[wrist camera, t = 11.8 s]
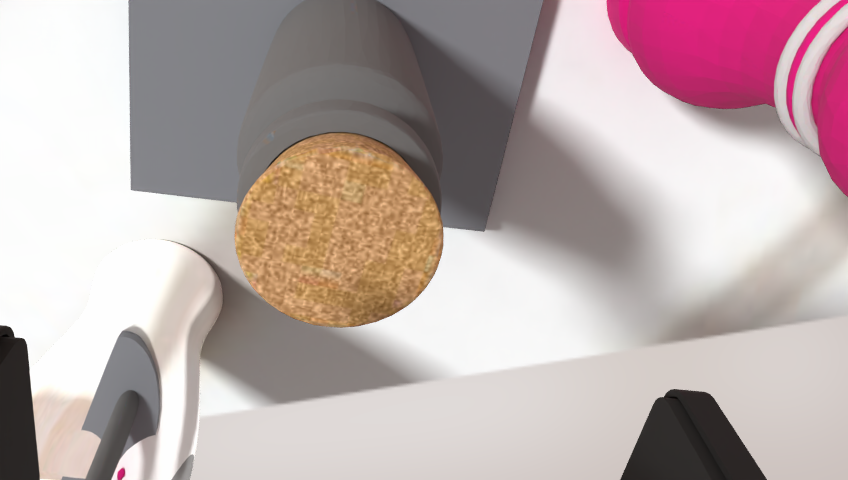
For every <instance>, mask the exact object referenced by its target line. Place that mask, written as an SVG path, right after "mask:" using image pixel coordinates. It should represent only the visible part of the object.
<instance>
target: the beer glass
mask: <svg viewBox="0 0 848 480" xmlns="http://www.w3.org/2000/svg"><path fill="white" fill-rule="evenodd" d="M222 303H223V292H222V286H221V283H220V280H219V278H218V276H217V274H216V272H215V271H214V269H213V268H212V266H211V265H210V264H209V263H208V262H207V261H206V260H205V259H204V258H203V257H202V256H200V255H199V254H198V253H196V252H195V251H193V250H191V249H189V248H188V247H185V246H183V245H181V244H178V243H175V242H171V241H166V240H159V239H144V240H137V241H133V242H129V243H127V244H124V245H122V246H120V247H118V248H116V249H115V250H113V251H112V252H111V253H110V254H108V255H107V256H106V257H105V258H104V259H103V261H102V262H101V263H100V265H99V266H98V268H97V270H96V272H95V275H94V278H93V282H92V287H91V292H90V297H89V301H88V304H87V306H86V309H85V311H84V312H83V314H82V315H81V317H80V318H79V319H78V320H77V321H76V322H75V323H74V324H73V326H72V327H71V328H70V329H69V330H68V331H67V332H66V333H65V334H64V335H63V336H62V337H61V338H60V339H59V340H58V341H57V342H56V343H55V344H54V345H53V346H52V347H51V348H50V349H49V350H48V351H47V352H46V353H45V354H44V355H43V356H42V357H41V359H40V360H39V361H38V362H37V363H36V364H35V365H34V366H33V367H32V368H31V370H30V381H31V391H32V401H33V411H34V421H35V431H36V441H37V451H38V462H39V472H40V480H190V476H191V472H192V468H193V463H194V458H195V453H196V447H197V442H198V430H199V417H200V354H201V349H202V345H203V343H204V340H205V338H206V336H207V335H208V333H209V331H210V330H211V328H212V327H213V325H214V323H215V322H216V320H217V318H218V316H219V314H220V311H221V308H222Z"/></svg>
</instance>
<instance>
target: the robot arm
mask: <svg viewBox="0 0 848 480" xmlns="http://www.w3.org/2000/svg"><path fill="white" fill-rule="evenodd" d="M0 480H40V472H39V462H38V451H37V441H36V431H35V421H34V411H33V401H32V391H31V381H30V370H29V360H28V350H27V344H26V341H25V340H24V339H23V338H15V337H14V333H13V331H12V329H11V328H10V327H8V326H1V325H0ZM621 480H767V479H766V477H765V476H764V474H763V473H762V471H761V470H760V468H759V467H758V465H757V464H756V462H755V461H754V459H753V458H752V456H751V455H750V453H749V451H748V450H747V448H746V447H745V445H744V444H743V442H742V441H741V439H740V438H739V436H738V435H737V433H736V432H735V430H734V428H733V427H732V425H731V424H730V422H729V421H728V419H727V418H726V416H725V415H724V413H723V412H722V410H721V409H720V407H719V405H718V404H717V402H716V401H715V399H714V398H713V397H712V396H711V395H710V394H708V393H706V392H699V391H688V390H677V389H673V390H670V391H668V392H667V393H666V395H665V396H664V397H660V398H658V399H657V400H656V401H655V403H654V404H653V406H652V409H651V411H650V413H649V416H648V418H647V420H646V422H645V425H644V427H643V429H642V432H641V434H640V436H639V438H638V441H637V443H636V445H635V448H634V450H633V452H632V455H631V457H630V459H629V461H628V463H627V466H626V468H625V470H624V473H623V475H622V477H621Z"/></svg>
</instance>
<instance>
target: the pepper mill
mask: <svg viewBox="0 0 848 480" xmlns="http://www.w3.org/2000/svg"><path fill="white" fill-rule="evenodd" d="M607 11H608V17H609V20H610V23H611V26H612V29H613V31H614V33H615V35H616V37H617V38H618V40H619V41H620V42H621V43H622V44H623V46H624V47H625V48H626V49H627V50H629V51H630V52H631V53H633V56H634V58H635V60H636V62H637V63H638V65H639V67H640V69H641V71H642V72H643V73H644V74H645V76H646V77H647V78H648V79H649V80H650V81H651V82H652V83H653V84H654V85H655V86H657V87H658V88H659V89H661V90H662V91H664V92H665V93H667V94H669V95H671V96H673V97H675V98H677V99H679V100H681V101H683V102H686V103H689V104H692V105H695V106H702V107H709V108H719V109H737V108H744V107H750V106H755V105H761V104H768V105H770V106H773V107H775V108H776V111H777V114H778V116H779V119H780V121H781V123H782V125H783V126H784V128H785V129H786V131H787V132H788V133H789V134H790V135H791V136H792V137H793V138H794V139H795V140H796V141H798V142H799V143H801V144H802V145H803V146H805V147H807V148H810V149H811V150H812V151H813V152H814V153H816V154H818V155H819V156H821V158H822V160H823V162H824V164H825V166H826V168H827V170H828V172H829V175H830V177H831V179H832V180H833V181H834V183H835V184H836V185H837V186H838V187H839V189H840V190H841V191H842V192H843V193H844V194H845V195H846V196H847V197H848V0H607Z"/></svg>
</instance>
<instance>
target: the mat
mask: <svg viewBox="0 0 848 480" xmlns="http://www.w3.org/2000/svg"><path fill="white" fill-rule="evenodd" d="M303 1H305V0H129V76H130V159H131V190H134V191H143V192H151V193H160V194H168V195H177V196H185V197H194V198H202V199H211V200H219V201H228V202H236V203H237V188H238V182H239V172H238V166H237V146H238V138H239V134H240V130H241V126H242V123H243V120H244V117H245V114H246V111H247V108H248V105H249V102H250V99H251V97H252V94H253V91H254V88H255V86H256V83H257V80H258V77H259V75H260V72H261V69H262V67H263V64H264V61H265V59H266V56H267V53H268V51H269V48H270V45H271V43H272V41H273V39H274V36H275V34H276V32H277V30H278V28H279V26H280V24H281V23H282V21H283V20H284V18H285V17H286V16H287V15H288V14H289V13H290V11H291V10H293V9H294V8H295V7H296V6H297V5H299V4H300V3H302V2H303ZM376 1H378V2H380V3H381V4H382V5H384V6H385V7H386V8H388V9H389V10H390V11H391V12H392V13H393V14H394V15H395V16H396V17H397V19H398V20H399V21H400V22H401V24H402V26H403V27H404V29H405V31H406V33H407V35H408V37H409V39H410V41H411V44H412V47H413V50H414V53H415V56H416V59H417V62H418V65H419V68H420V71H421V74H422V77H423V80H424V83H425V87H426V90H427V93H428V96H429V99H430V103H431V106H432V109H433V112H434V115H435V119H436V122H437V126H438V129H439V133H440V138H441V144H442V150H443V168H442V173H441V178H440V186H441V194H442V206H441V215H440V216H441V219H442V223H443V227H449V228H458V229H466V230H475V231H483V232H484V231H485V227H486V223H487V219H488V215H489V211H490V207H491V203H492V199H493V196H494V192H495V188H496V184H497V180H498V176H499V172H500V168H501V164H502V160H503V156H504V152H505V148H506V145H507V141H508V137H509V133H510V129H511V125H512V121H513V117H514V113H515V109H516V105H517V101H518V97H519V94H520V90H521V86H522V82H523V78H524V74H525V70H526V66H527V62H528V58H529V54H530V50H531V46H532V43H533V39H534V35H535V31H536V27H537V23H538V19H539V15H540V11H541V7H542V3H543V0H376Z"/></svg>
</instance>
